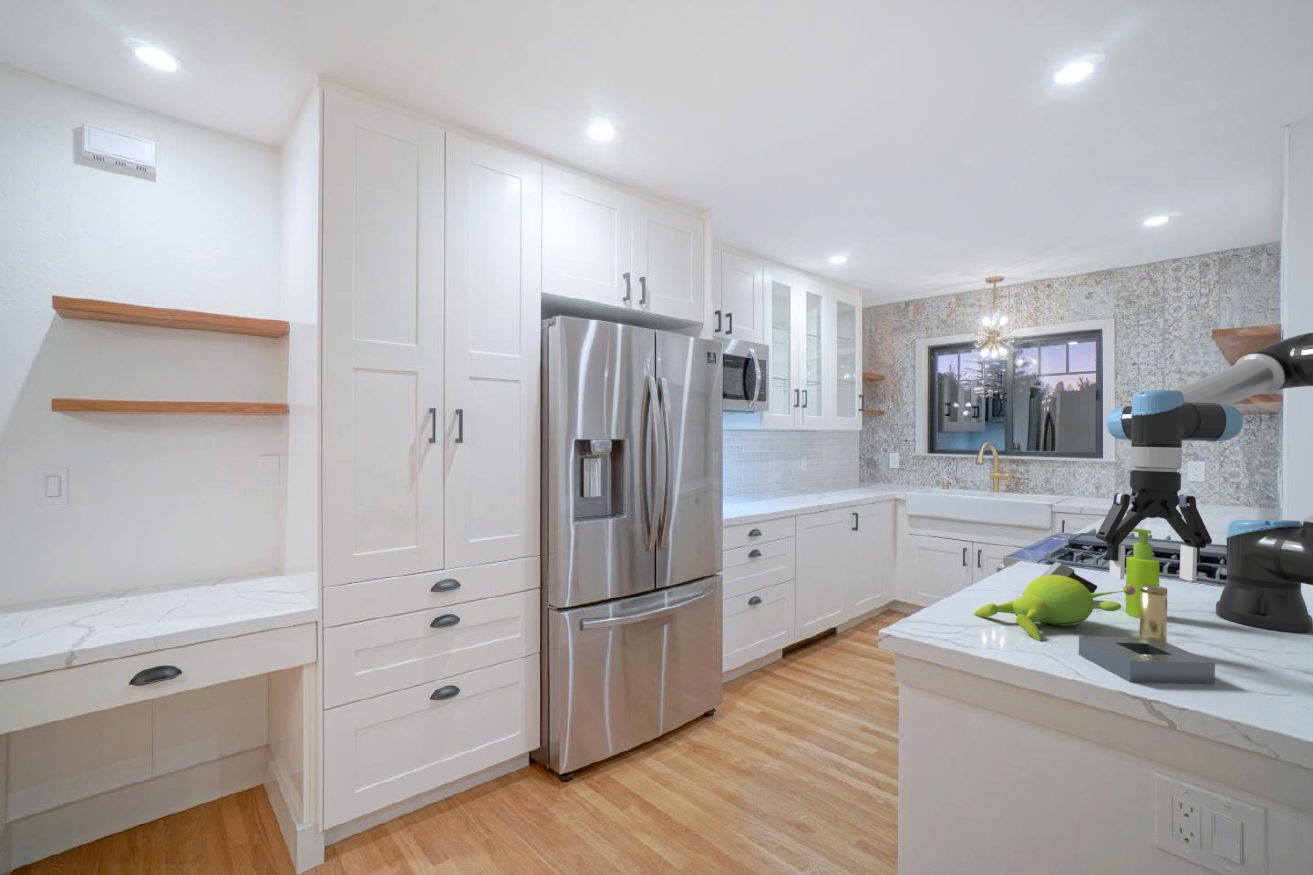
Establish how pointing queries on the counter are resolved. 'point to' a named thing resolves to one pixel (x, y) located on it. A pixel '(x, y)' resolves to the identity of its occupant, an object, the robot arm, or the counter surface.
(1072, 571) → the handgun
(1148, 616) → the gold metallic cylinder
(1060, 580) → the toy
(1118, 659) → the jig
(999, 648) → the counter surface
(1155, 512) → the robot arm
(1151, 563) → the soap dispenser
